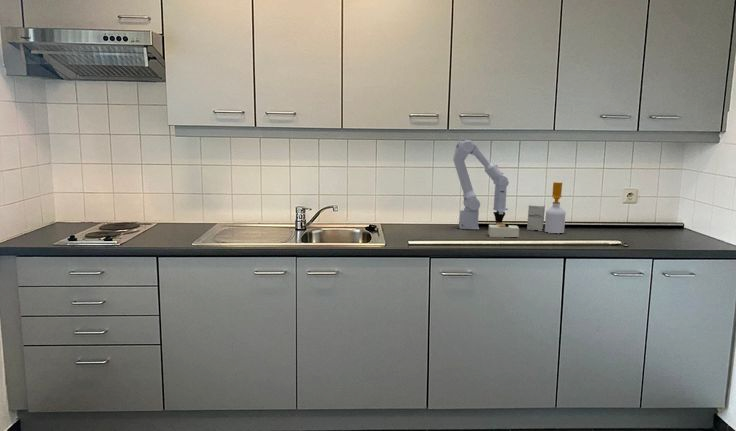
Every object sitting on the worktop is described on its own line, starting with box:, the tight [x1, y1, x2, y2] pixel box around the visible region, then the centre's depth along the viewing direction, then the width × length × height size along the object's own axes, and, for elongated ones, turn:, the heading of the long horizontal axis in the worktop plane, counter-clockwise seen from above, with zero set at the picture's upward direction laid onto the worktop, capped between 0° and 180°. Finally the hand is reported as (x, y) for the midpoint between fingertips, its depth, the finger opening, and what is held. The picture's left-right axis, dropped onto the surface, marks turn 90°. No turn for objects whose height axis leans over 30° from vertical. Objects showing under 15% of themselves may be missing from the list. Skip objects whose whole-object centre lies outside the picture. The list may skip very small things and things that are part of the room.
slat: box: [495, 221, 507, 228], centre depth 267 cm, size 4×12×4 cm, turn 173°
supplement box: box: [526, 203, 546, 232], centre depth 274 cm, size 7×7×13 cm
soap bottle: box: [544, 181, 566, 235], centre depth 266 cm, size 9×9×25 cm
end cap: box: [487, 224, 520, 238], centre depth 257 cm, size 13×7×4 cm, turn 83°
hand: (498, 226), depth 276 cm, fingers closed
